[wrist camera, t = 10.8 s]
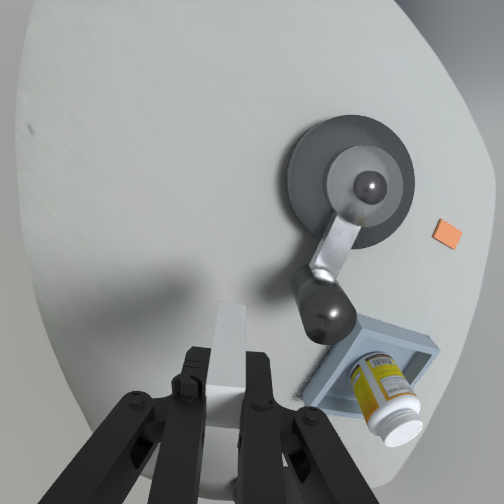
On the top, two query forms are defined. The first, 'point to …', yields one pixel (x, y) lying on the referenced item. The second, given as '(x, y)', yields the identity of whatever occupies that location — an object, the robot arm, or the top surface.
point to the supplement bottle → (385, 399)
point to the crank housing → (316, 159)
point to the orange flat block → (447, 234)
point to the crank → (344, 236)
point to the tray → (356, 347)
